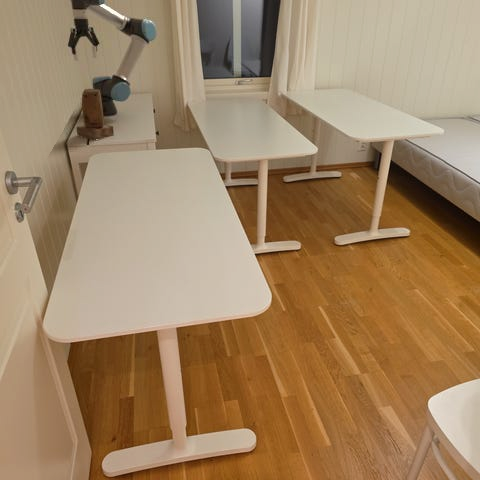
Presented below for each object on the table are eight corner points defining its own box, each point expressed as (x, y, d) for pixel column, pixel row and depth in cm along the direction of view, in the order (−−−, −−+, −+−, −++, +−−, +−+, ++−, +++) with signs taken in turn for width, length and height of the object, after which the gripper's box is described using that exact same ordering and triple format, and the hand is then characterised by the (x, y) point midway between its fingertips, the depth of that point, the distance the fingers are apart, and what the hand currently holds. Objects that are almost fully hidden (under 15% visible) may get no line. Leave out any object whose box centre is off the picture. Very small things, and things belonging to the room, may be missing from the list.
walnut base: (97, 130, 263) (95, 121, 260) (113, 134, 256) (112, 126, 254) (77, 135, 252) (76, 126, 250) (94, 140, 246) (93, 131, 243)
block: (104, 124, 256) (100, 88, 246) (104, 128, 249) (99, 91, 239) (85, 124, 254) (80, 88, 244) (83, 128, 247) (78, 91, 237)
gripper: (66, 19, 235) (72, 62, 246) (102, 17, 254) (107, 57, 264) (57, 18, 239) (63, 60, 249) (93, 16, 257) (98, 56, 268)
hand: (85, 59), depth 257 cm, fingers open, 13 cm apart
